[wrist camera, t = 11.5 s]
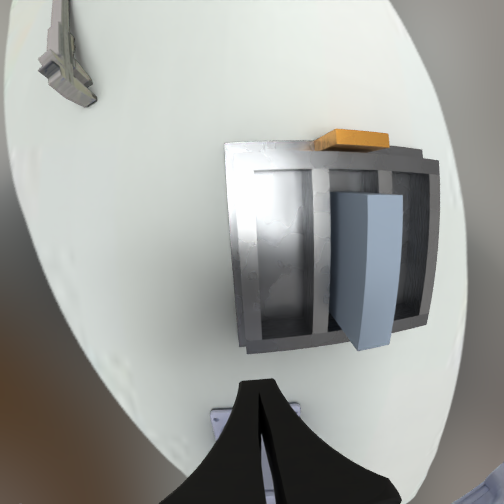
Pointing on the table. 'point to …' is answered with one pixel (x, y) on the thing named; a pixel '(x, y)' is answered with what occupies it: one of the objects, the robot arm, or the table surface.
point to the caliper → (64, 59)
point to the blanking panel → (365, 264)
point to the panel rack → (320, 232)
